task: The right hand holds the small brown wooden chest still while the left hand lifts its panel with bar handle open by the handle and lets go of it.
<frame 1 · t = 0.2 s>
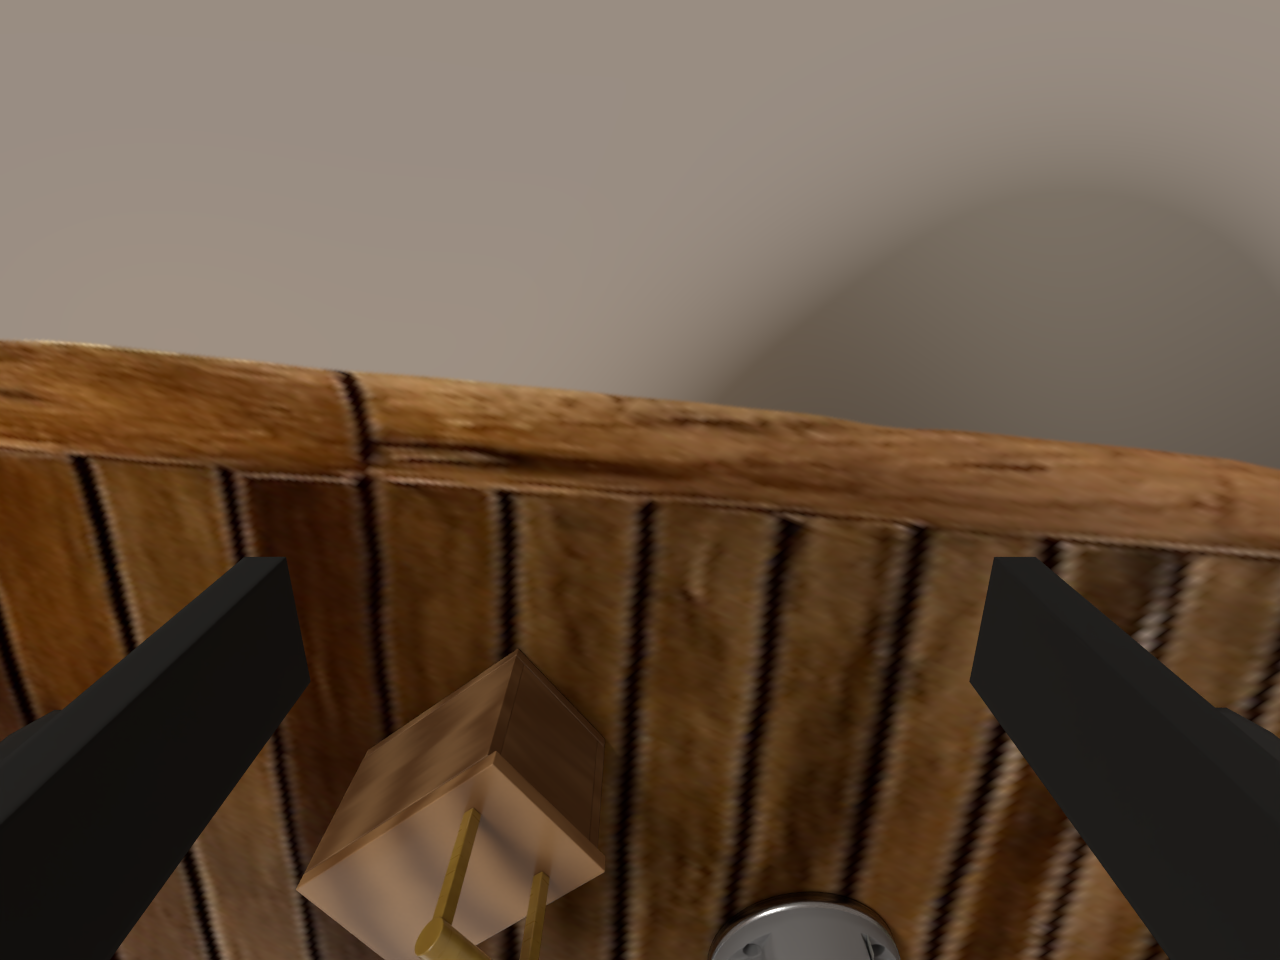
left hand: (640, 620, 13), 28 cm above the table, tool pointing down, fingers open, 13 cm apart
panel with bar handle: (432, 940, 35), point 14 cm above the table, hinge at 0.0°
chest: (486, 744, 49), on the table
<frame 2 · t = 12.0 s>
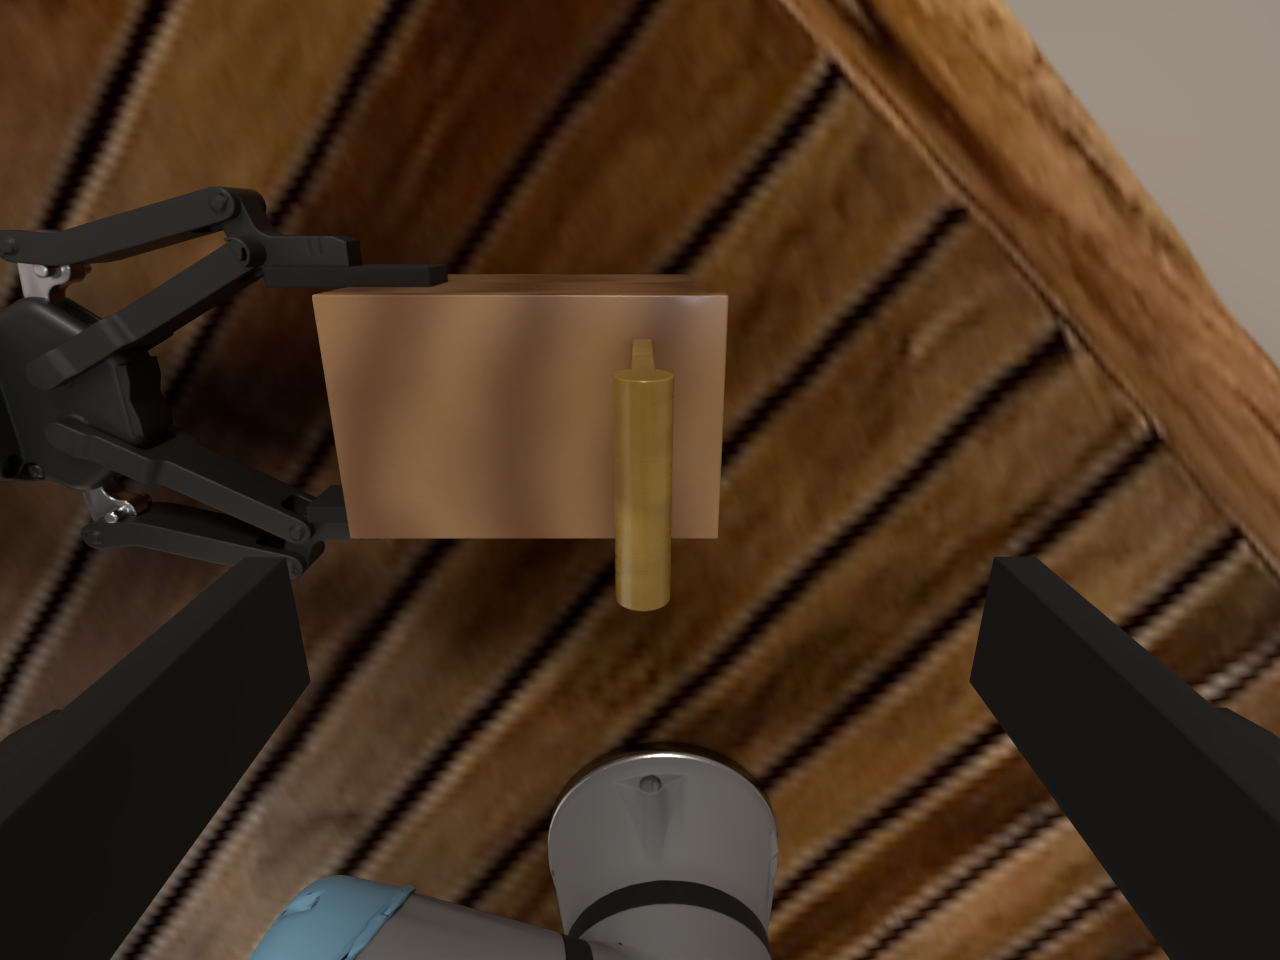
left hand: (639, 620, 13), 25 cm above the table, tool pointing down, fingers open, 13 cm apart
right hand: (450, 395, 30), fingers closed on chest, 9 cm apart
panel with bar handle: (511, 452, 23), point 14 cm above the table, hinge at 0.0°
chest: (553, 367, 36), on the table, touching right hand
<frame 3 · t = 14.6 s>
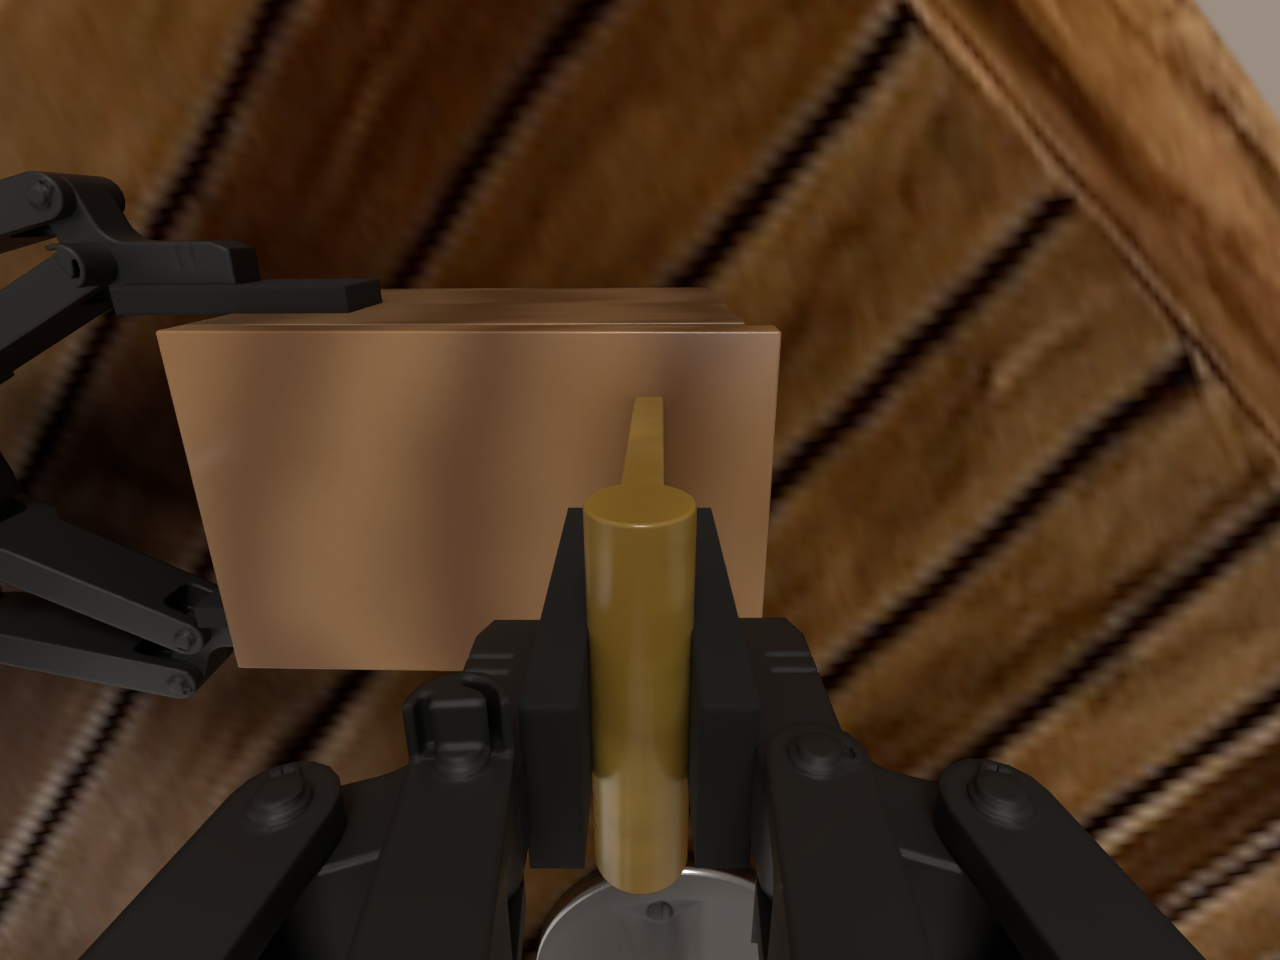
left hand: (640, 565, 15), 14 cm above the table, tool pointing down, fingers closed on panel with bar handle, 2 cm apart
panel with bar handle: (440, 582, 14), point 15 cm above the table, hinge at 1.9°, touching left hand
chest: (532, 407, 28), on the table, touching right hand
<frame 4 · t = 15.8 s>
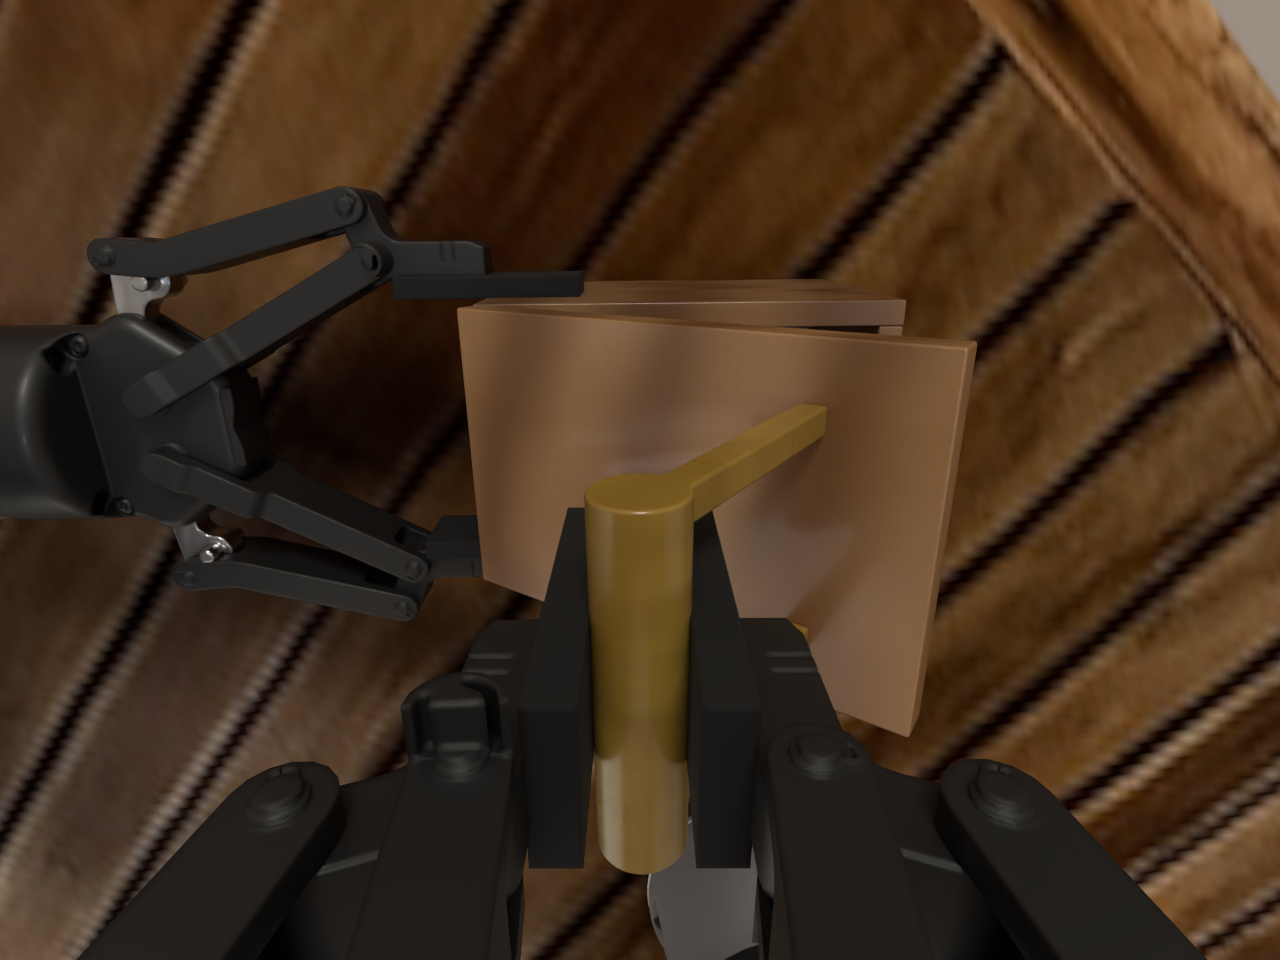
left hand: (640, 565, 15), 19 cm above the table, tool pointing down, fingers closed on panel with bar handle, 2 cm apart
right hand: (586, 416, 27), fingers closed on chest, 9 cm apart
panel with bar handle: (576, 541, 16), point 18 cm above the table, hinge at 34.9°, touching left hand
chest: (672, 382, 33), on the table, touching right hand
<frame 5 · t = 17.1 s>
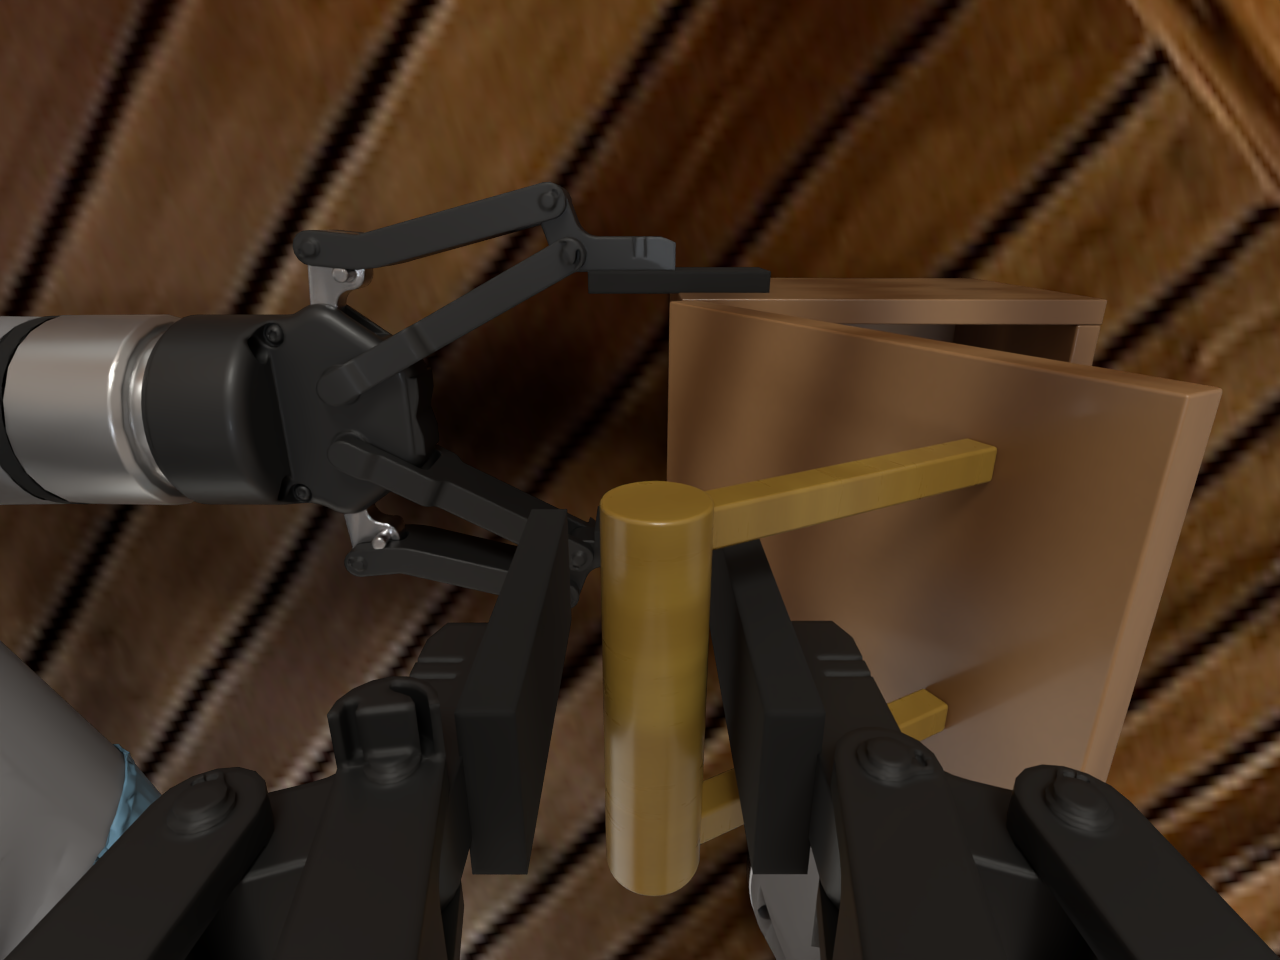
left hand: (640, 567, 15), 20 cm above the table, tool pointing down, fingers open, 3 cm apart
right hand: (755, 410, 28), fingers closed on chest, 9 cm apart
panel with bar handle: (699, 545, 16), point 19 cm above the table, hinge at 61.7°
chest: (812, 378, 34), on the table, touching right hand
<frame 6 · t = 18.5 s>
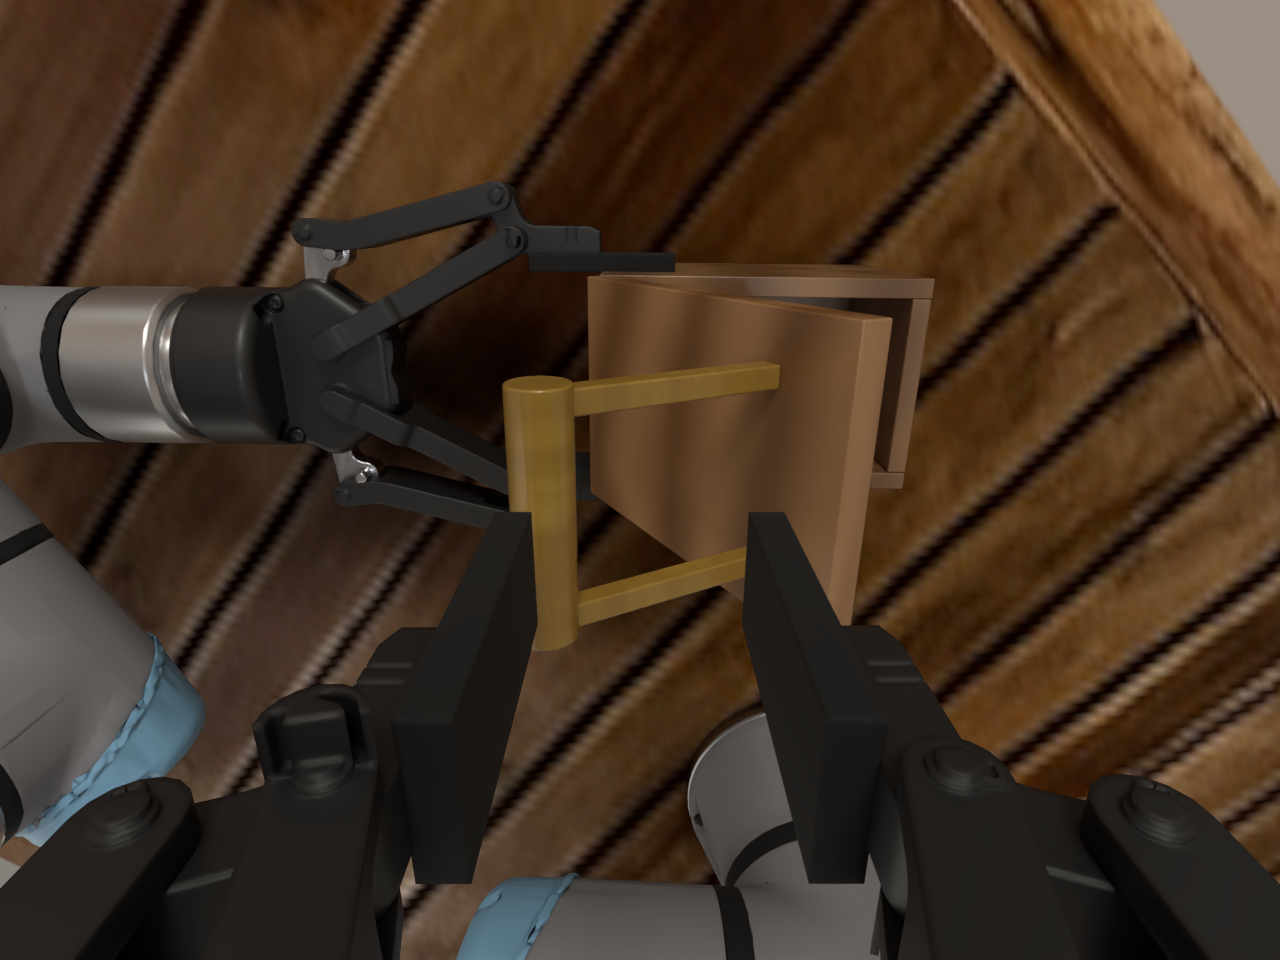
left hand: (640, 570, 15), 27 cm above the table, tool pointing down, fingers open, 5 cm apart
right hand: (671, 370, 34), fingers closed on chest, 9 cm apart
panel with bar handle: (595, 448, 22), point 19 cm above the table, hinge at 59.5°
chest: (731, 349, 40), on the table, touching right hand
when the right hand's fingers open (6 cm above the table, at t = 21.0 s): chest stays where it is, on the table.
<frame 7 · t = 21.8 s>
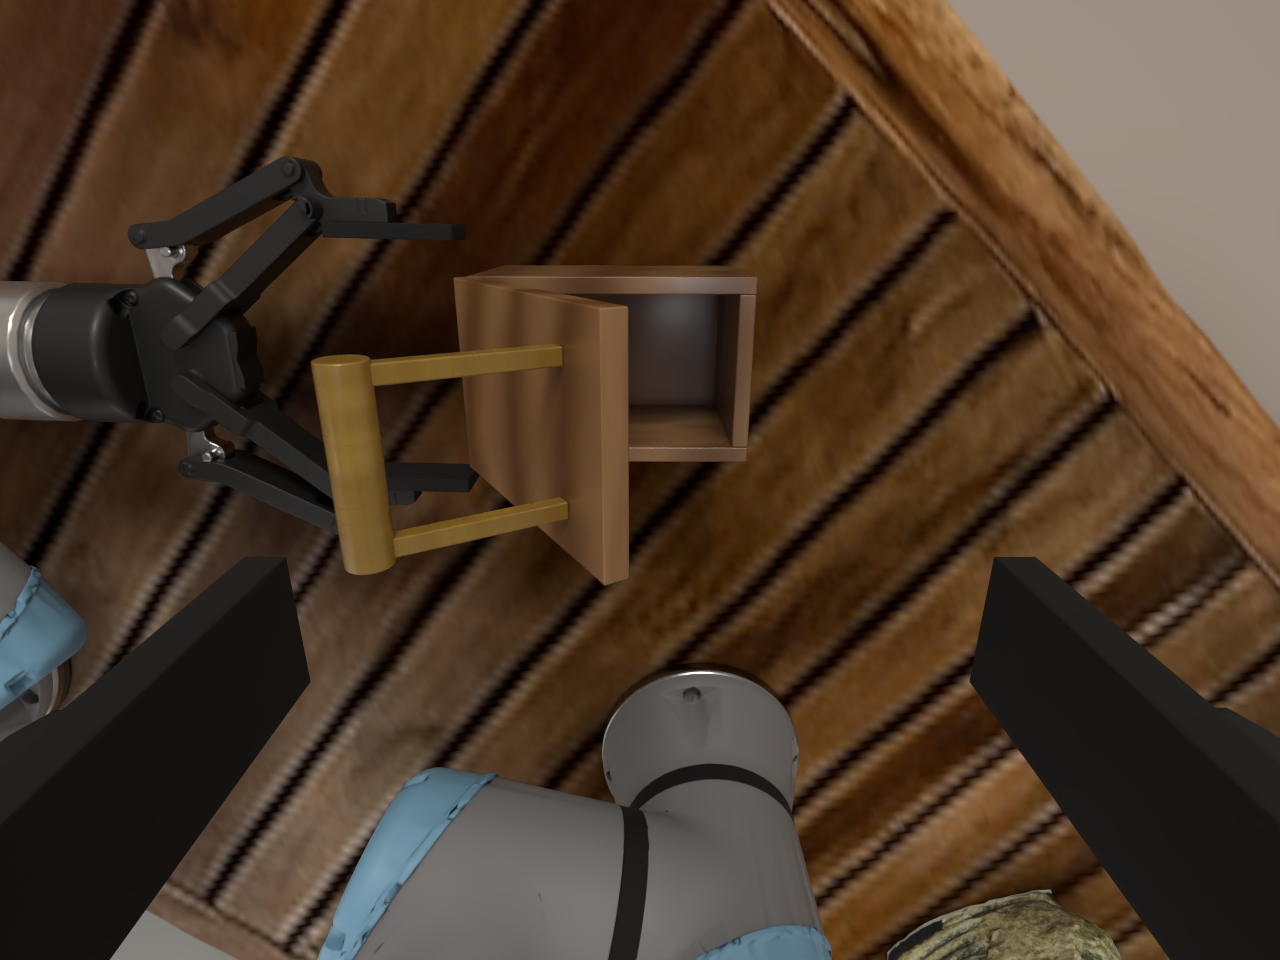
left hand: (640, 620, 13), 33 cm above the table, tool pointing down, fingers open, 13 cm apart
right hand: (467, 362, 38), fingers open, 13 cm apart
panel with bar handle: (434, 419, 27), point 19 cm above the table, hinge at 58.9°
chest: (618, 342, 44), on the table
fossil: (978, 928, 62), on the table
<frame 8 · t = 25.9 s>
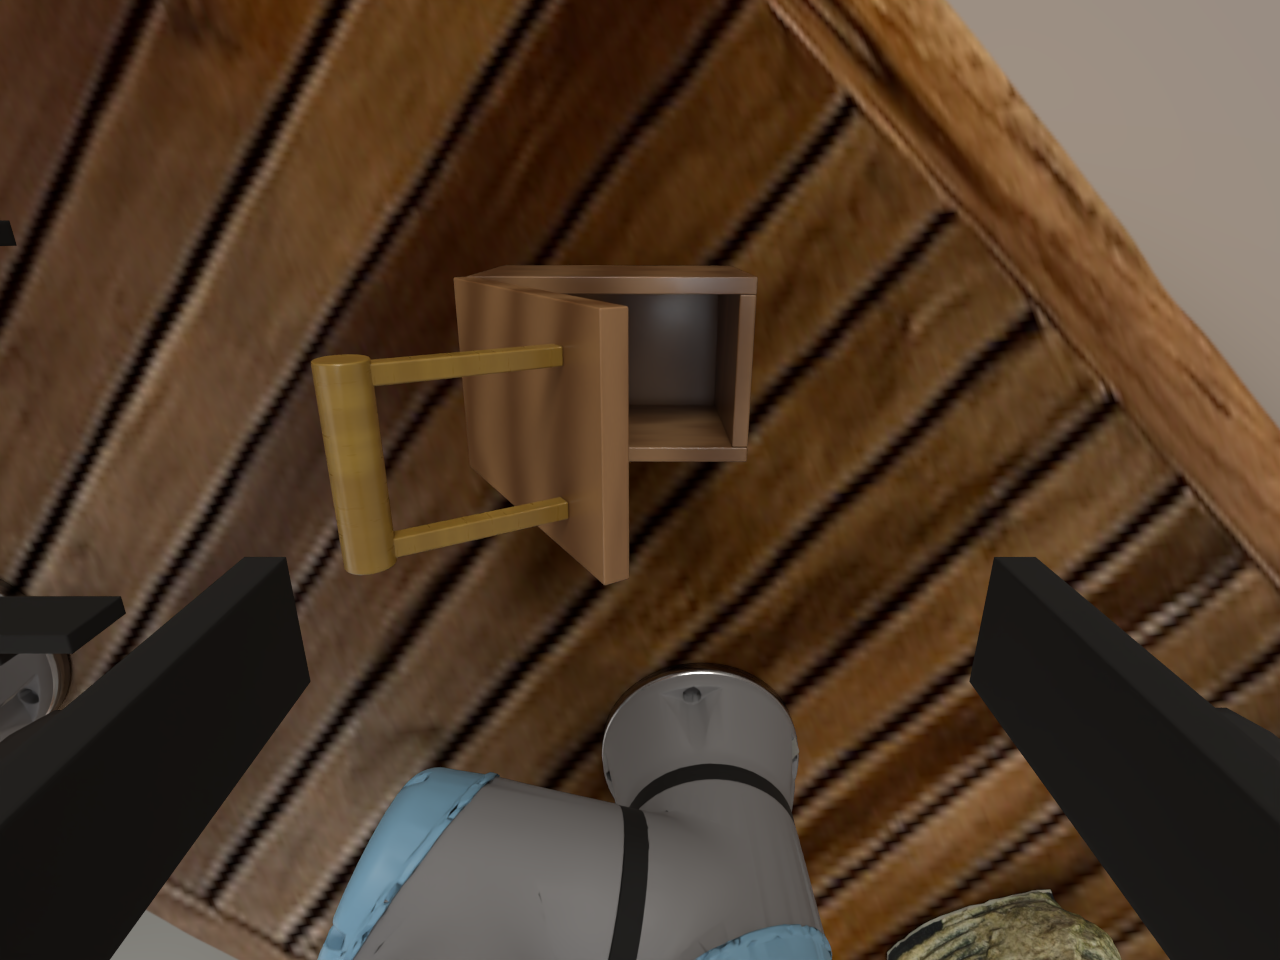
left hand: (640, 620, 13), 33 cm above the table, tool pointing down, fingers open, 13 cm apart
panel with bar handle: (434, 419, 27), point 19 cm above the table, hinge at 58.9°
chest: (618, 342, 44), on the table
fossil: (978, 928, 62), on the table
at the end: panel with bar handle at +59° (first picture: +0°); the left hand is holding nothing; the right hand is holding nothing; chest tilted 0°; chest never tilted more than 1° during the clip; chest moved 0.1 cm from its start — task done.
